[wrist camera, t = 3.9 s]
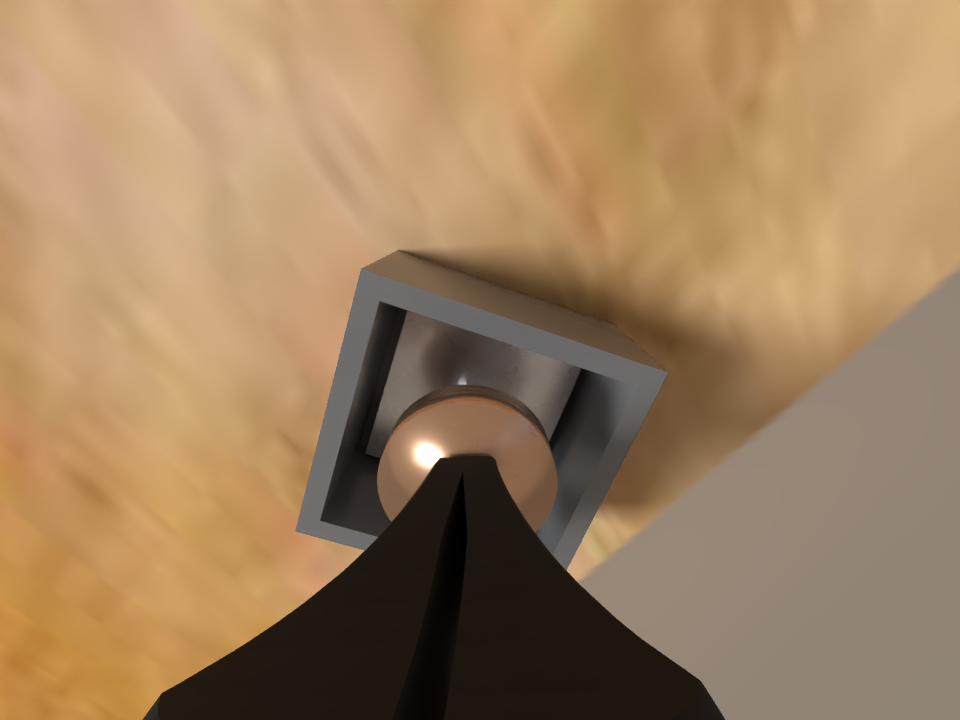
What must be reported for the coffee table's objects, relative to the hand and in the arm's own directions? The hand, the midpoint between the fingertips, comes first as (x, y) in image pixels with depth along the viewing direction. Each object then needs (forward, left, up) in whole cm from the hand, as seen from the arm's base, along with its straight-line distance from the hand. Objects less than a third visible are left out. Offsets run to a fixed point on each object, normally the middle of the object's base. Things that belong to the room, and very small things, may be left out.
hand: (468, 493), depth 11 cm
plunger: (0, 0, -5) cm, 5 cm away
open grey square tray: (0, 0, -7) cm, 7 cm away
